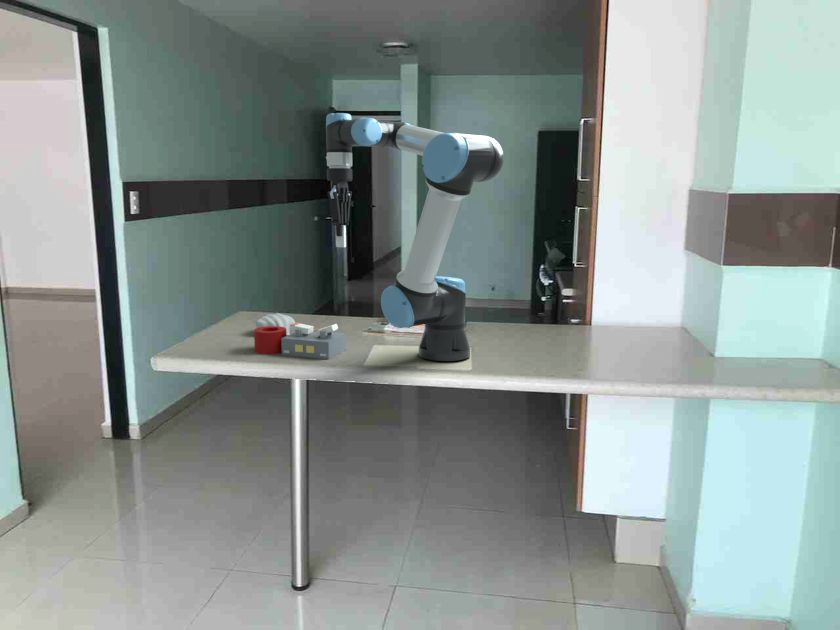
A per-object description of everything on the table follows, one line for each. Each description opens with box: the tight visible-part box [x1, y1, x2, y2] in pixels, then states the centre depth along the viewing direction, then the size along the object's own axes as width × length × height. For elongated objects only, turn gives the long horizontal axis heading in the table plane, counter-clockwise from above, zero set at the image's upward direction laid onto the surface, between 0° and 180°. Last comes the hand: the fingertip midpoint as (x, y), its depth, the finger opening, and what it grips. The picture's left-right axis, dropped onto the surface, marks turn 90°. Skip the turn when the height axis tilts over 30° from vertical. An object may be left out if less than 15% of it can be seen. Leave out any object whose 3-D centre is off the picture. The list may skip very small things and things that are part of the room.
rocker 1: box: [290, 321, 315, 334], centre depth 200 cm, size 6×4×2 cm, turn 72°
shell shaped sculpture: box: [255, 312, 296, 335], centre depth 223 cm, size 13×13×6 cm
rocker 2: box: [313, 323, 339, 337], centre depth 198 cm, size 6×4×2 cm, turn 72°
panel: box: [281, 329, 347, 360], centre depth 199 cm, size 15×12×7 cm
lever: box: [253, 326, 288, 355], centre depth 205 cm, size 18×9×7 cm, turn 159°
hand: (341, 246), depth 205 cm, fingers closed
